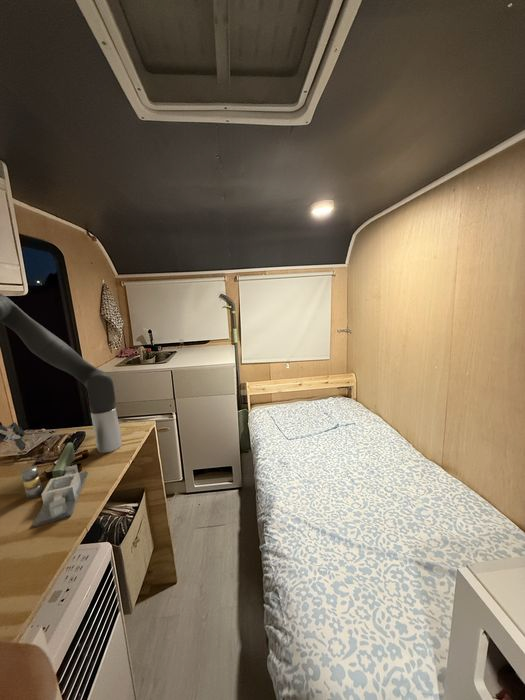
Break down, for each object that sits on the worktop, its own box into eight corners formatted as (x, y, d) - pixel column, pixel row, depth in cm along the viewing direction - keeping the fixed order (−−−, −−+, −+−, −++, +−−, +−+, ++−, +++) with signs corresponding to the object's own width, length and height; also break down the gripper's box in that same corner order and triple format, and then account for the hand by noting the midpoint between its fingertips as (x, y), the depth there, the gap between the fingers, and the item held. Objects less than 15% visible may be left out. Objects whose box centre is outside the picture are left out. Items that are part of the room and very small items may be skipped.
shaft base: (58, 480, 98) (55, 467, 97) (87, 473, 101) (85, 461, 100) (33, 527, 78) (29, 511, 77) (70, 516, 81) (67, 501, 80)
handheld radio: (52, 489, 94) (70, 453, 117) (64, 486, 96) (79, 451, 118) (49, 471, 93) (68, 438, 116) (61, 469, 94) (77, 436, 117)
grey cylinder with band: (33, 490, 94) (28, 466, 92) (45, 489, 94) (40, 465, 92) (23, 499, 90) (17, 473, 88) (36, 498, 90) (30, 473, 88)
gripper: (-47, 422, 86) (-15, 462, 84) (7, 405, 99) (36, 439, 97) (-52, 436, 89) (-22, 474, 87) (2, 417, 102) (29, 450, 100)
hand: (9, 455), depth 92 cm, fingers open, 8 cm apart
